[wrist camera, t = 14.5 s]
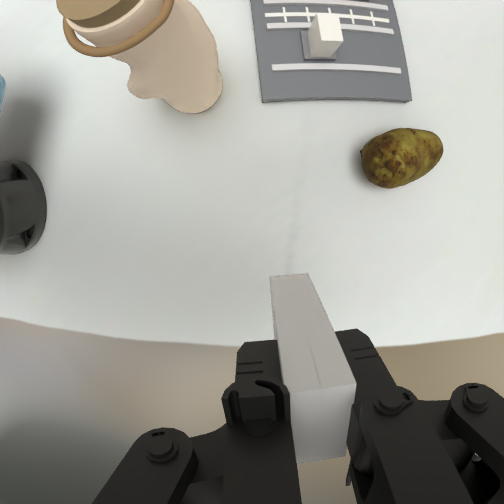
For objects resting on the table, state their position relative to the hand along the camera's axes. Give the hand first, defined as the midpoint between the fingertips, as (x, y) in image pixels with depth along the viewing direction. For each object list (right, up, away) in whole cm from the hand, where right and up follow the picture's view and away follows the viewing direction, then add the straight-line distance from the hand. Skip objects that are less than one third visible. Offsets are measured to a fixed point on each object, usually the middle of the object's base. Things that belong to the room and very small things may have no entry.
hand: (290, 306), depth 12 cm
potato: (+18, +15, +26) cm, 35 cm away
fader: (+7, +28, +20) cm, 35 cm away
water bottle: (-10, +24, +24) cm, 35 cm away
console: (+9, +33, +21) cm, 40 cm away
